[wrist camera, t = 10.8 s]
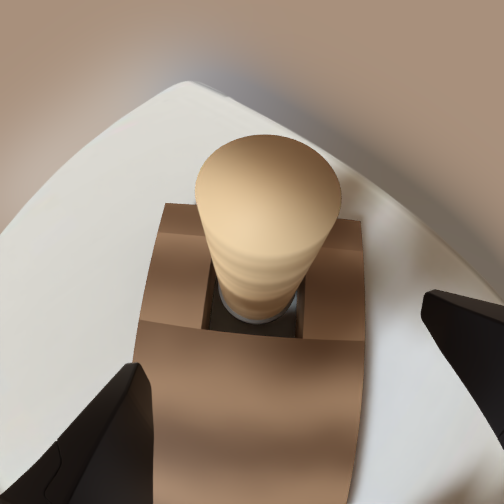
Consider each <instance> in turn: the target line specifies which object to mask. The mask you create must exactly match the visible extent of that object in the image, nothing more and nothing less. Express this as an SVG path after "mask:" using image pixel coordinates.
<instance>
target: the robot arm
mask: <svg viewBox="0 0 504 504" xmlns="http://www.w3.org/2000/svg"><path fill="white" fill-rule="evenodd" d="M421 318H422V321H423V322H424V324H425V326H426V327H427V329H428V331H429V332H430V334H431V335H432V337H433V339H434V340H435V342H436V344H437V346H438V347H439V349H440V351H441V352H442V354H443V355H444V357H445V358H446V359H447V361H448V362H449V364H450V365H451V366H452V368H453V369H454V371H455V372H456V374H457V375H458V376H459V378H460V379H461V381H462V382H463V384H464V385H465V387H466V388H467V390H468V391H469V393H470V394H471V396H472V397H473V399H474V400H475V402H476V404H477V405H478V407H479V408H480V410H481V412H482V413H483V415H484V416H485V418H486V420H487V421H488V423H489V425H490V426H491V428H492V430H493V431H494V433H495V435H496V437H497V438H498V441H499V442H500V444H501V446H502V448H503V450H504V306H502V305H498V304H494V303H490V302H486V301H482V300H478V299H473V298H469V297H465V296H461V295H457V294H453V293H449V292H444V291H440V290H436V289H435V290H431V291H429V292H426V293H425V295H424V297H423V303H422V309H421ZM153 455H154V423H153V407H152V388H151V384H150V381H149V379H148V377H147V375H146V373H145V371H144V369H143V367H142V365H141V364H140V363H138V362H135V363H127V364H125V365H124V366H123V367H122V368H121V369H120V370H119V372H118V373H117V374H116V375H115V376H114V377H113V378H112V379H111V380H110V381H109V382H108V384H107V385H106V386H105V387H104V388H103V389H102V390H101V391H100V392H99V393H98V394H97V396H96V397H95V398H94V399H93V400H92V401H91V402H90V403H89V404H88V405H87V407H86V408H85V409H84V410H83V411H82V412H81V413H80V414H79V415H78V417H77V418H76V419H75V420H74V421H73V422H72V423H71V424H70V425H69V427H68V428H67V429H66V430H65V431H64V432H63V433H62V434H61V436H60V437H59V438H58V439H57V441H55V442H54V443H53V444H52V446H51V447H50V448H49V449H48V450H47V451H46V452H45V453H44V454H43V455H42V457H41V458H40V459H39V460H38V461H37V462H36V463H35V464H34V465H33V466H32V467H31V468H30V469H29V470H28V471H26V472H25V473H24V474H23V475H22V476H21V477H20V478H19V479H18V480H17V481H16V482H15V483H13V484H12V485H11V486H10V487H9V488H8V489H7V490H6V491H5V492H3V493H2V494H1V495H0V504H153Z"/></svg>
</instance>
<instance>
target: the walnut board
mask: <svg viewBox="0 0 504 504" xmlns="http://www.w3.org/2000/svg"><path fill="white" fill-rule="evenodd" d="M215 279H216V271H215V268H214V264H213V261H212V258H211V254H210V250H209V247H208V243H207V240H206V236H205V233H204V229H203V225H202V222H201V218H200V214H199V211H198V207H197V205H189V204H173V203H165V207H164V210H163V214H162V218H161V222H160V225H159V229H158V233H157V237H156V241H155V245H154V249H153V254H152V258H151V262H150V267H149V271H148V276H147V281H146V285H145V290H144V295H143V301H142V306H141V311H140V317H139V323H138V328H137V335H136V341H135V348H134V354H133V362H132V363H135V362H138V363H140V364H141V365H142V367H143V369H144V371H145V373H146V375H147V377H148V379H149V381H150V384H151V388H152V407H153V423H154V455H153V504H346V502H347V498H348V493H349V488H350V483H351V478H352V472H353V466H354V460H355V453H356V446H357V439H358V431H359V423H360V413H361V402H362V390H363V375H364V353H365V284H364V262H363V246H362V233H361V221H355V220H347V219H339V218H337V219H336V221H335V223H334V225H333V227H332V229H331V230H330V232H329V234H328V236H327V238H326V239H325V241H324V243H323V245H322V247H321V248H320V250H319V252H318V254H317V256H316V257H315V259H314V261H313V263H312V264H311V266H310V268H309V269H308V271H307V273H306V275H305V276H304V278H303V280H302V281H301V283H300V285H299V287H298V288H297V307H296V324H295V338H285V337H271V336H259V335H249V334H239V333H229V332H221V331H212V330H209V323H210V316H211V308H212V301H213V293H214V286H215Z"/></svg>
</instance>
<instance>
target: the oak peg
mask: <svg viewBox="0 0 504 504" xmlns="http://www.w3.org/2000/svg"><path fill="white" fill-rule="evenodd" d="M195 198H196V203H197V207H198V211H199V214H200V218H201V222H202V225H203V229H204V233H205V236H206V240H207V243H208V247H209V250H210V254H211V258H212V261H213V264H214V268H215V271H216V275H217V278H218V289H219V294H220V298H221V300H222V303H223V305H224V306H225V308H226V309H227V310H228V312H229V313H230V314H231V315H233V316H234V317H235V318H237V319H239V320H240V321H243V322H246V323H250V324H265V323H269V322H272V321H274V320H276V319H277V318H279V317H280V316H282V315H283V314H284V313H285V312H286V311H287V309H288V308H289V307H290V305H291V303H292V301H293V299H294V296H295V292H296V290H297V288H298V287H299V285H300V283H301V281H302V280H303V278H304V276H305V275H306V273H307V271H308V269H309V268H310V266H311V264H312V263H313V261H314V259H315V257H316V256H317V254H318V252H319V250H320V248H321V247H322V245H323V243H324V241H325V239H326V238H327V236H328V234H329V232H330V230H331V229H332V227H333V225H334V223H335V221H336V219H337V217H338V215H339V211H340V207H341V199H342V198H341V188H340V184H339V181H338V178H337V176H336V174H335V172H334V170H333V169H332V167H331V166H330V165H329V163H328V162H327V161H326V160H325V159H324V158H323V157H322V156H321V155H320V154H319V153H318V152H316V151H315V150H313V149H312V148H310V147H309V146H307V145H305V144H303V143H301V142H299V141H296V140H294V139H290V138H287V137H282V136H277V135H252V136H247V137H243V138H239V139H236V140H234V141H231V142H229V143H227V144H225V145H223V146H222V147H220V148H219V149H218V150H216V151H215V152H214V153H213V154H212V155H211V156H210V157H209V158H208V159H207V160H206V161H205V163H204V164H203V166H202V167H201V169H200V172H199V174H198V177H197V180H196V186H195Z"/></svg>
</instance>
